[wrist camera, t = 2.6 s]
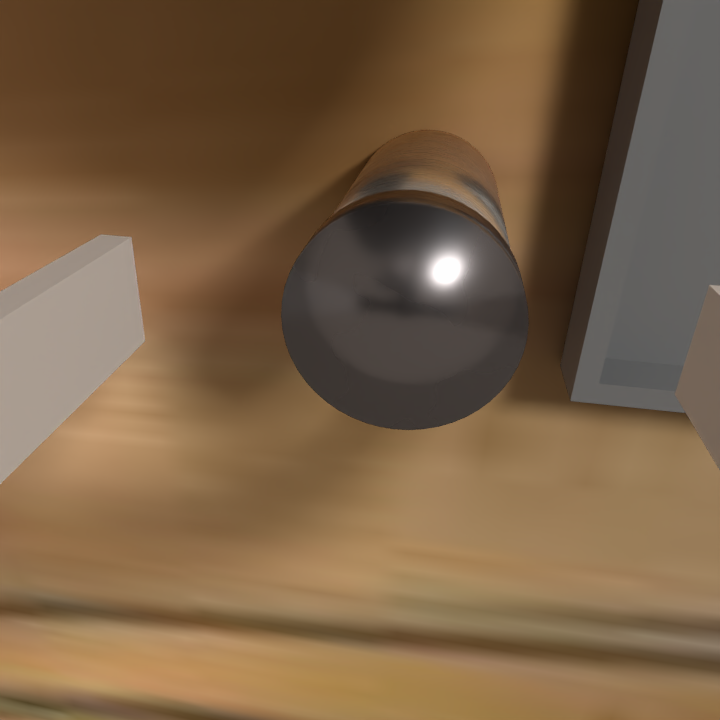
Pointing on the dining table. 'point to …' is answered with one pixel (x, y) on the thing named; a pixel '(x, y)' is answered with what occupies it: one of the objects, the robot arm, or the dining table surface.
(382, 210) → the shaker
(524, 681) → the dining table surface
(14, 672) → the dining table surface
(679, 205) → the tray
